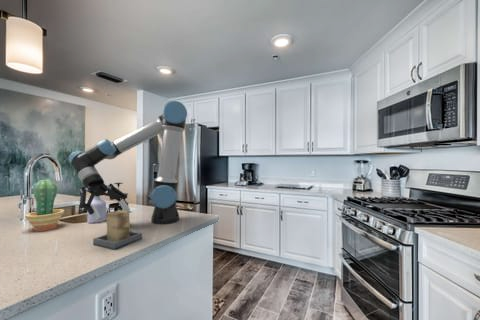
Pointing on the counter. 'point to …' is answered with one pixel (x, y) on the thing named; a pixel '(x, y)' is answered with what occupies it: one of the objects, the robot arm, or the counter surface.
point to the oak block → (117, 225)
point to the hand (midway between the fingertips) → (114, 215)
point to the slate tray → (104, 243)
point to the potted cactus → (44, 206)
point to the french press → (117, 205)
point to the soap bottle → (101, 209)
